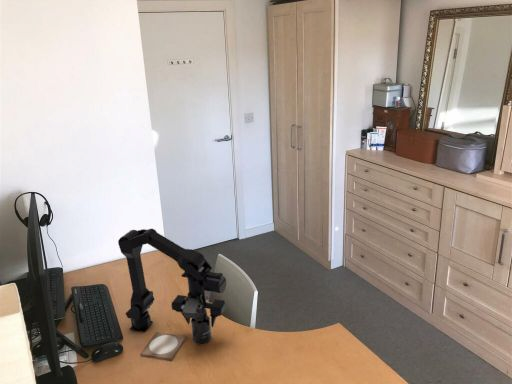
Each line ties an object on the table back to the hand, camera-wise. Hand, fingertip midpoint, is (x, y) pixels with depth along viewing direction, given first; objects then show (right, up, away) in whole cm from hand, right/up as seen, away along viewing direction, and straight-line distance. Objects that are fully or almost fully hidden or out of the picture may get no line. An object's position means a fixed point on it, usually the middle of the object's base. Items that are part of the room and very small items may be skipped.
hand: (200, 324), depth 160 cm
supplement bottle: (0, -6, +2) cm, 6 cm away
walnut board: (-13, -8, -1) cm, 15 cm away
